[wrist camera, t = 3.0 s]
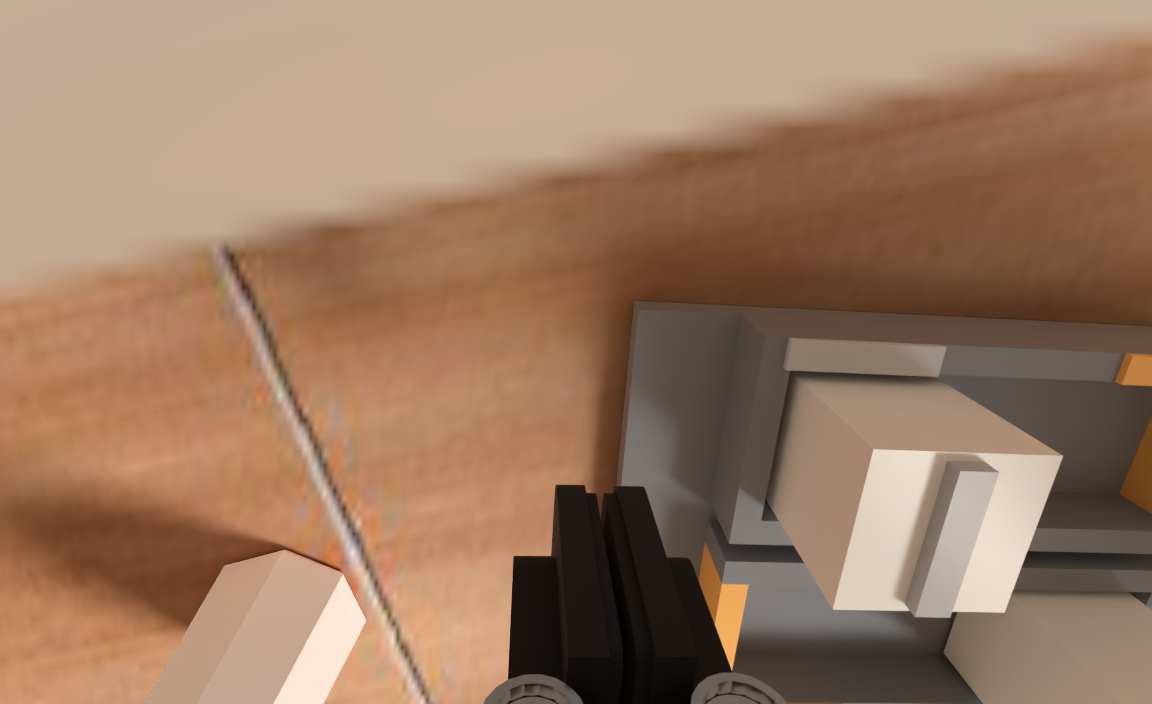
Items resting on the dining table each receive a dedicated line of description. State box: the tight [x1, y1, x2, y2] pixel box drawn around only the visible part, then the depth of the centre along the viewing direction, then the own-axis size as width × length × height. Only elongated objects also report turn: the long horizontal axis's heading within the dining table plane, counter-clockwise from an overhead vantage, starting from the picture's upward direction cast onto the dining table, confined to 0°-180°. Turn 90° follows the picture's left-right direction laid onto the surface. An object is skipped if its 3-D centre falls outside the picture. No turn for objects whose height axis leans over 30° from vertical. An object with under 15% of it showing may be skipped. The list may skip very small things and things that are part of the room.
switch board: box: [616, 301, 1152, 704], centre depth 19 cm, size 20×13×3 cm, turn 87°
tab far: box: [943, 590, 1152, 704], centre depth 18 cm, size 4×4×6 cm
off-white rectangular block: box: [765, 371, 1063, 618], centre depth 15 cm, size 4×4×6 cm
